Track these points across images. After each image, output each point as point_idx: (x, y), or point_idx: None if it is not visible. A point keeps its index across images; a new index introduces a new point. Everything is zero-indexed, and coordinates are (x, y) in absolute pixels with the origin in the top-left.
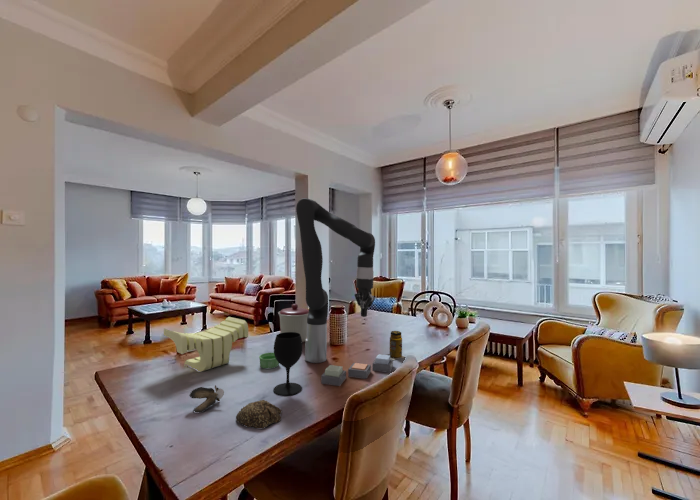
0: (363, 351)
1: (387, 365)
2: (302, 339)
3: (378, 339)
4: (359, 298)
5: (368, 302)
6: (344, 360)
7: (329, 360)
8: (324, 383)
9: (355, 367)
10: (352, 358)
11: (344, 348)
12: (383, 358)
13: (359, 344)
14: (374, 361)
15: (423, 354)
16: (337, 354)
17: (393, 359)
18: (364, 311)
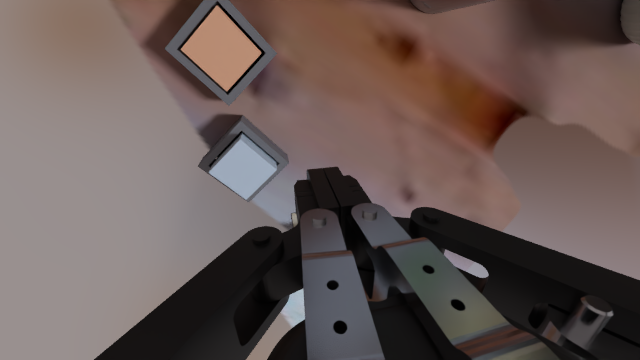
0: (402, 176)
1: (204, 159)
2: (633, 6)
3: (453, 258)
4: (454, 286)
5: (145, 318)
6: (371, 73)
7: (402, 17)
8: None
9: (211, 22)
10: (371, 111)
11: (462, 134)
12: (225, 163)
13: (458, 195)
14: (255, 137)
15: (293, 299)
16: (433, 81)
17: (296, 219)
18: (298, 203)
